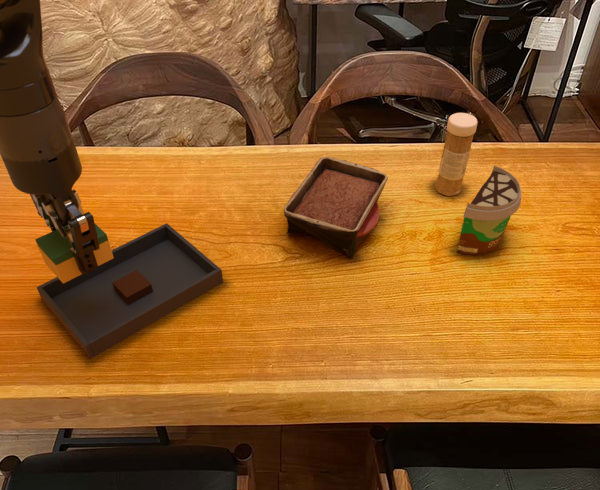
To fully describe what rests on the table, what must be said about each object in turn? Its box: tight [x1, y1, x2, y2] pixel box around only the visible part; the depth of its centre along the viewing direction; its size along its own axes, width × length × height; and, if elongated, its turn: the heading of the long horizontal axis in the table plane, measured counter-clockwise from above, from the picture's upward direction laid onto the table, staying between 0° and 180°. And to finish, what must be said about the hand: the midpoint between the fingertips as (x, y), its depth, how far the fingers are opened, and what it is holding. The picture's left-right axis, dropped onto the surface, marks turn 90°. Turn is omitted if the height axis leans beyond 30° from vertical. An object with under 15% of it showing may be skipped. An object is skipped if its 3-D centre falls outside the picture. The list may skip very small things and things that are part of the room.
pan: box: [35, 222, 224, 359], centre depth 83 cm, size 21×14×3 cm
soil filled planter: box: [283, 156, 389, 259], centre depth 92 cm, size 14×18×10 cm
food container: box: [456, 165, 522, 257], centre depth 88 cm, size 12×6×10 cm, turn 148°
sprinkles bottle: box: [435, 112, 479, 197], centre depth 97 cm, size 5×5×14 cm
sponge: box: [35, 223, 114, 283], centre depth 73 cm, size 7×5×4 cm
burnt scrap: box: [112, 270, 153, 305], centre depth 83 cm, size 4×4×2 cm
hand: (78, 258), depth 74 cm, fingers closed on sponge, 5 cm apart
